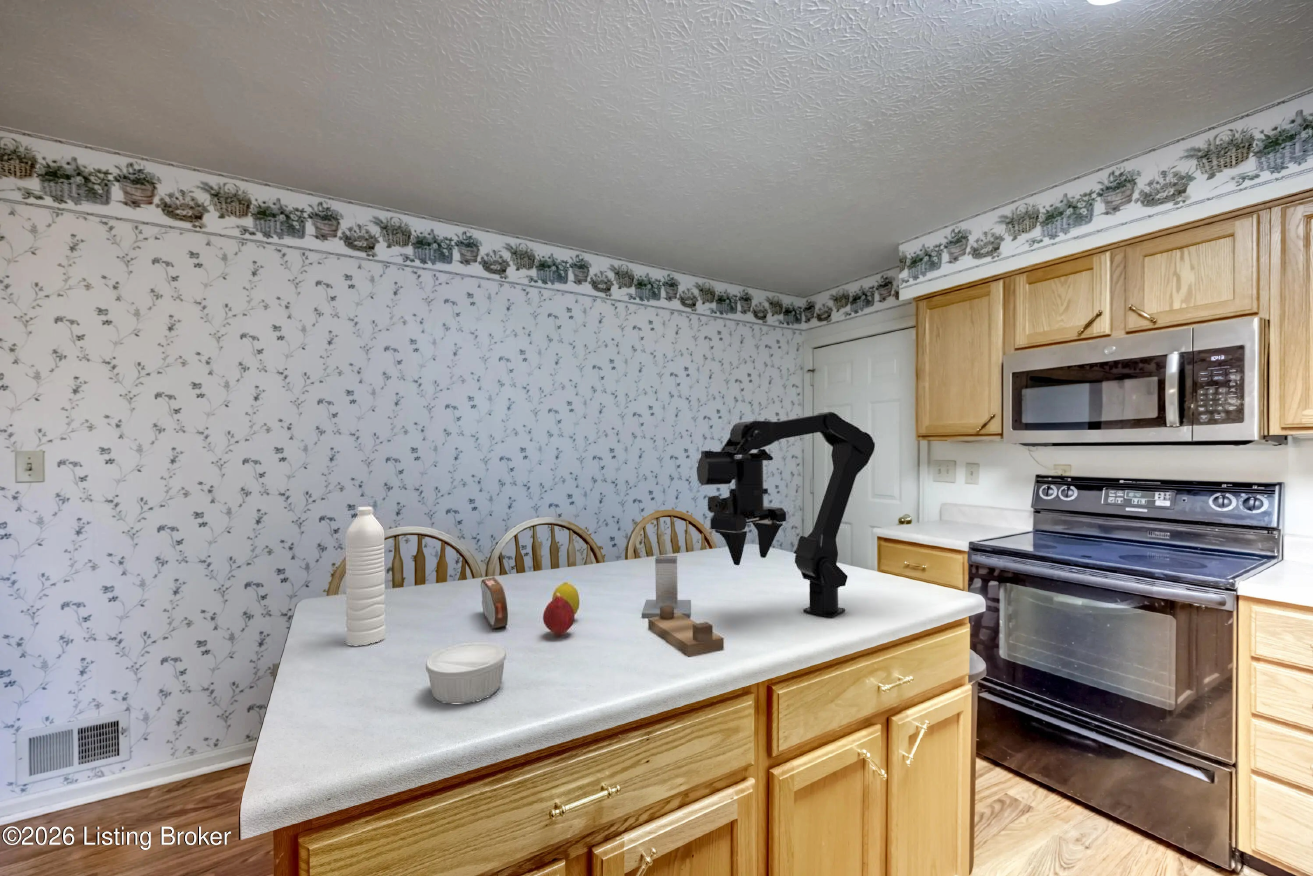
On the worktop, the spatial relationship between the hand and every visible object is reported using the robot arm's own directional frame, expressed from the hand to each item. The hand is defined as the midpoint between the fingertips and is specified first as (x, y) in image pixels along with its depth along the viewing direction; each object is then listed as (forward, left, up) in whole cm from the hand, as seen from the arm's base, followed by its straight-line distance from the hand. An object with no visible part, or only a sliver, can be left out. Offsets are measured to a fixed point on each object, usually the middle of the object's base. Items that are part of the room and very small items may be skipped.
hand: (750, 561), depth 112 cm
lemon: (+25, -28, -12) cm, 39 cm away
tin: (+35, -39, -12) cm, 54 cm away
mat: (+6, -17, -12) cm, 22 cm away
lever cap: (+6, -17, -11) cm, 21 cm away
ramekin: (+54, -13, -12) cm, 57 cm away
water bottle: (+57, -46, -12) cm, 74 cm away
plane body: (+16, -3, -12) cm, 21 cm away
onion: (+31, -22, -12) cm, 40 cm away
